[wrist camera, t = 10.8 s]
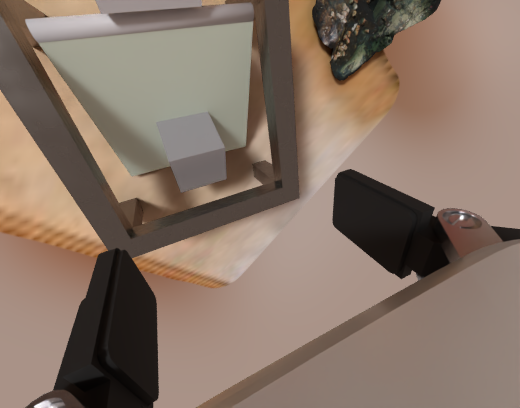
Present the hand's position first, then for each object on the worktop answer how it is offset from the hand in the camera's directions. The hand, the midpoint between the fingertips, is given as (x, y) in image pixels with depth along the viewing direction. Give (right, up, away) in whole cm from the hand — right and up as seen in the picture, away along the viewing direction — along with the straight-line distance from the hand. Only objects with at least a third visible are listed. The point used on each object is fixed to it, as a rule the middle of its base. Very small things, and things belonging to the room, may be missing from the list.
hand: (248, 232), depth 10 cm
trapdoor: (-7, +12, +10) cm, 17 cm away
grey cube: (-7, +9, +14) cm, 18 cm away
